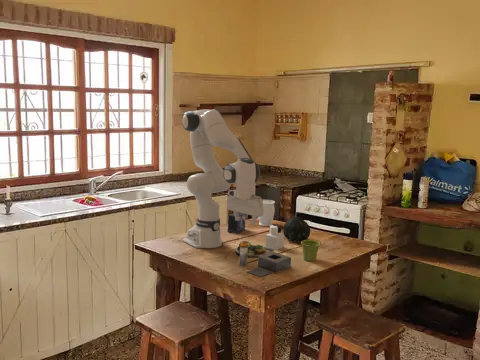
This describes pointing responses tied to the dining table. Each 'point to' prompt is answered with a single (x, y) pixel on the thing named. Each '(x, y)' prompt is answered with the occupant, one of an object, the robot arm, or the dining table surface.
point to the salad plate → (255, 250)
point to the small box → (236, 223)
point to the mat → (259, 272)
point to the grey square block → (274, 262)
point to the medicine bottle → (275, 238)
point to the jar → (267, 213)
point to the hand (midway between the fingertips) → (244, 222)
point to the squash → (296, 229)
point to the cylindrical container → (243, 253)
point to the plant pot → (310, 249)
